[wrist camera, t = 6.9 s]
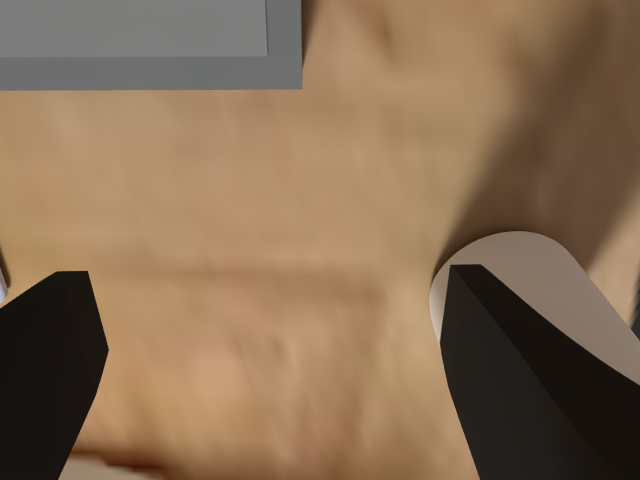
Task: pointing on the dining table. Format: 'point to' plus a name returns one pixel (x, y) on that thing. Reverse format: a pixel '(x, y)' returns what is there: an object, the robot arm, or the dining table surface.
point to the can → (548, 294)
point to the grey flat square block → (150, 44)
